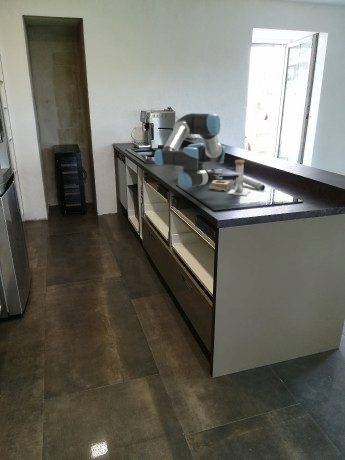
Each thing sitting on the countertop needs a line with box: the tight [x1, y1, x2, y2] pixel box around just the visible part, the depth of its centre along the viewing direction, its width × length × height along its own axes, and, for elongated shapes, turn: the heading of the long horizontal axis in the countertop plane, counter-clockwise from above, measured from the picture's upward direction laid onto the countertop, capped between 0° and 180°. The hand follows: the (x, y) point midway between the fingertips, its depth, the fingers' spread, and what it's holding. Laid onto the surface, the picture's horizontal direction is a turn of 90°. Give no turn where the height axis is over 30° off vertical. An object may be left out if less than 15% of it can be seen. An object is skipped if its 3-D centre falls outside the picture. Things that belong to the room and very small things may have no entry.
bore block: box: [209, 180, 232, 192], centre depth 213 cm, size 11×11×4 cm
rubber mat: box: [227, 188, 251, 197], centre depth 203 cm, size 11×11×1 cm
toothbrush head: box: [243, 176, 266, 192], centre depth 220 cm, size 5×7×25 cm
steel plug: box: [234, 159, 246, 192], centre depth 201 cm, size 5×5×18 cm
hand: (231, 173), depth 194 cm, fingers open, 13 cm apart
